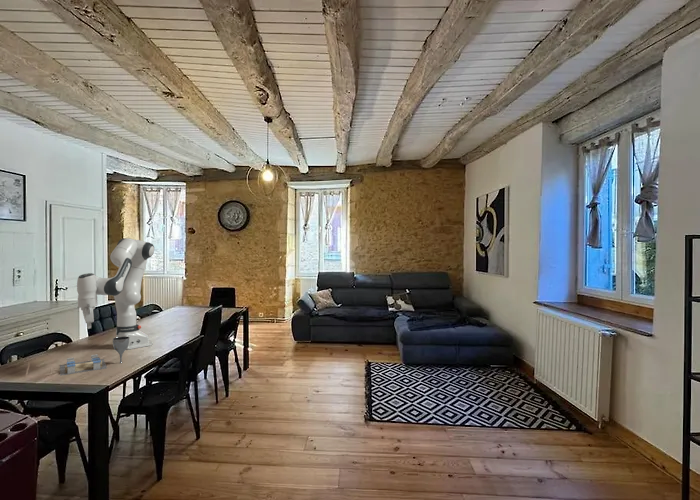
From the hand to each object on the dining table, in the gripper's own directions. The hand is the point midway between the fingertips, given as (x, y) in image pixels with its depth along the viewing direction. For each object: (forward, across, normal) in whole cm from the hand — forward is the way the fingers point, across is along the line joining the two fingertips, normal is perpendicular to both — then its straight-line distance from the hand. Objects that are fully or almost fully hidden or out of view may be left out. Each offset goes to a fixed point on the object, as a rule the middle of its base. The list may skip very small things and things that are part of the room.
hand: (89, 328), depth 206 cm
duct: (+21, -3, +4) cm, 21 cm away
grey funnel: (+22, -7, -13) cm, 27 cm away
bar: (+20, -8, +4) cm, 22 cm away
